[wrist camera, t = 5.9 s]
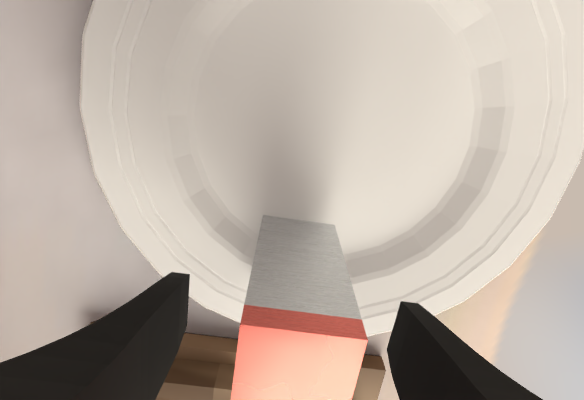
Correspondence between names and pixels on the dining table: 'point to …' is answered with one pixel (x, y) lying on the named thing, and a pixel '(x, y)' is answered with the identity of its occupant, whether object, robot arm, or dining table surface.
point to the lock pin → (298, 317)
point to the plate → (335, 135)
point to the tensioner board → (220, 371)
